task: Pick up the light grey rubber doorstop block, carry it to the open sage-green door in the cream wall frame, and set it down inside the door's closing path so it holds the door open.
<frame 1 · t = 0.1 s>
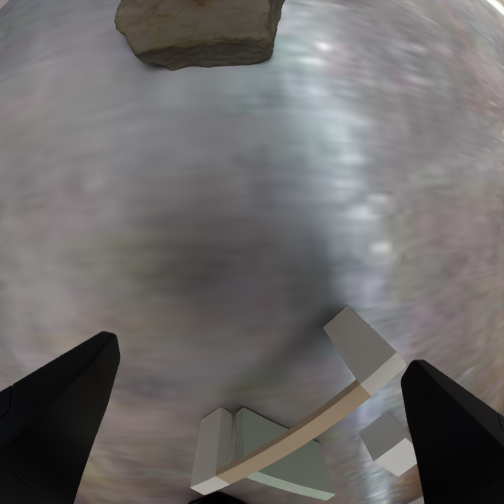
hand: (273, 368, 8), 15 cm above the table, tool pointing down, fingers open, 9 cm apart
doorstop block: (385, 432, 27), on the table
brown stone slab: (214, 10, 20), on the table
door: (280, 459, 22), point 4 cm above the table, hinge at 80.0°
wall frame: (274, 375, 24), on the table
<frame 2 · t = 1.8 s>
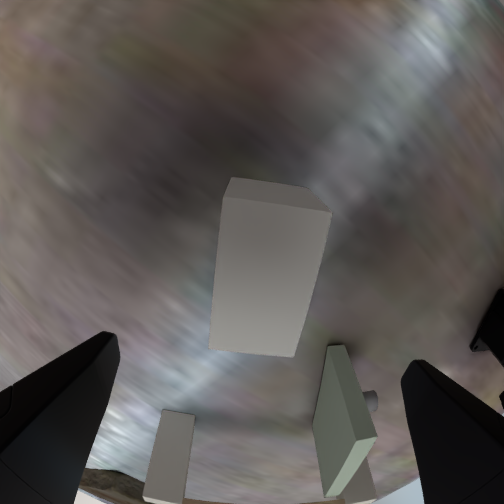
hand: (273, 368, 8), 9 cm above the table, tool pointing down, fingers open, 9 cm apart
doorstop block: (260, 243, 16), on the table
brown stone slab: (122, 482, 33), on the table
door: (343, 428, 17), point 4 cm above the table, hinge at 80.0°
wall frame: (262, 426, 23), on the table
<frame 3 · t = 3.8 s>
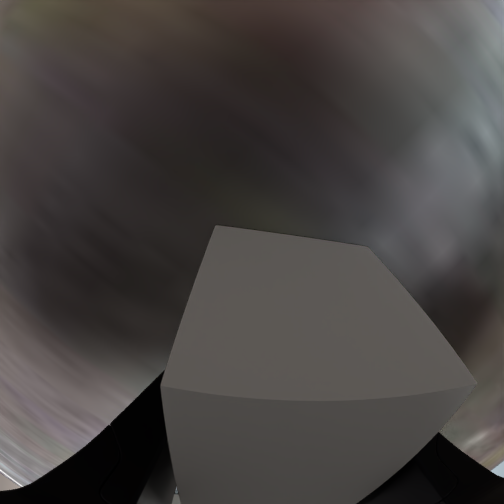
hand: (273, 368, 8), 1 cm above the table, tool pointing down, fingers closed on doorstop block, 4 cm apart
doorstop block: (271, 344, 9), on the table, touching gripper
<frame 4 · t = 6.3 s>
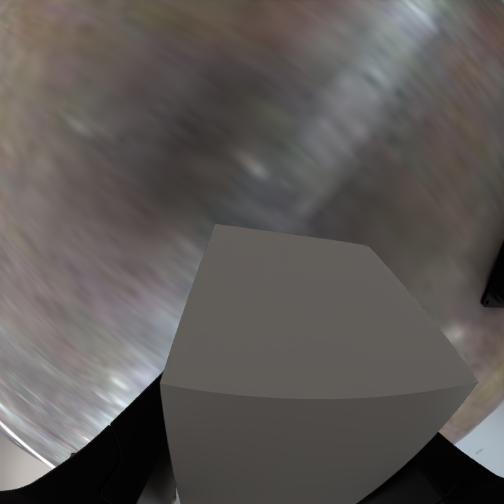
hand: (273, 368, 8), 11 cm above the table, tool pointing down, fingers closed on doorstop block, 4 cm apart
doorstop block: (271, 343, 9), point 10 cm above the table, touching gripper
when the fingers open (2 cm above the table, at t = 9.2 s): doorstop block drops 1 cm, on the table.
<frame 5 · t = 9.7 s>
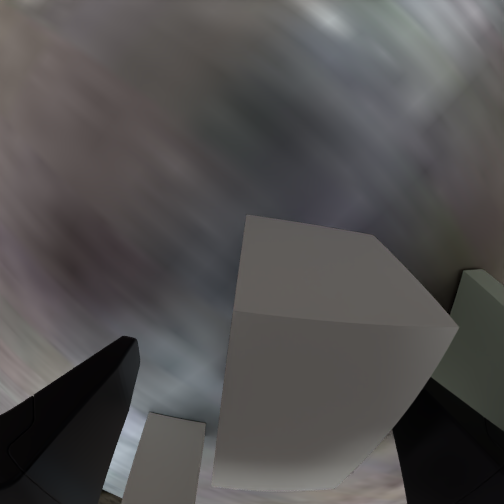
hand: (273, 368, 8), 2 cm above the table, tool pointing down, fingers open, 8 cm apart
doorstop block: (290, 319, 10), on the table
brown stone slab: (109, 500, 24), on the table
door: (481, 423, 7), point 4 cm above the table, hinge at 80.5°, touching gripper
wall frame: (320, 438, 13), on the table
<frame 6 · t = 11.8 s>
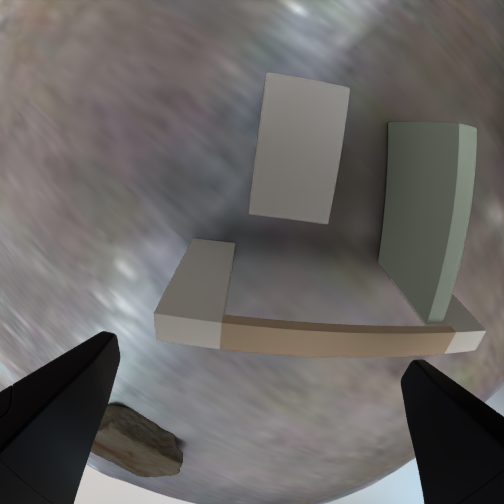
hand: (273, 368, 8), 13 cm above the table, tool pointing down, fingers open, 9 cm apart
doorstop block: (288, 145, 18), on the table
brown stone slab: (125, 430, 32), on the table
door: (428, 211, 15), point 4 cm above the table, hinge at 81.2°
wall frame: (319, 262, 21), on the table
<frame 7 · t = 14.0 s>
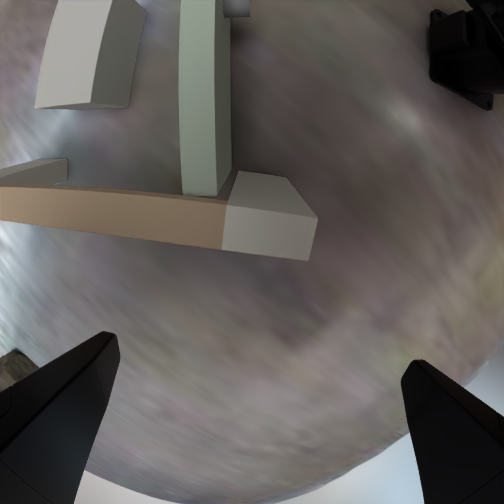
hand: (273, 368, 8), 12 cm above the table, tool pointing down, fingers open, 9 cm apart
doorstop block: (110, 59, 14), on the table
brown stone slab: (34, 387, 28), on the table
door: (224, 73, 11), point 4 cm above the table, hinge at 81.2°
wall frame: (142, 172, 17), on the table
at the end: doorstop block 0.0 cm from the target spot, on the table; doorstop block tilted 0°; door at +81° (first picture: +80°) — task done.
